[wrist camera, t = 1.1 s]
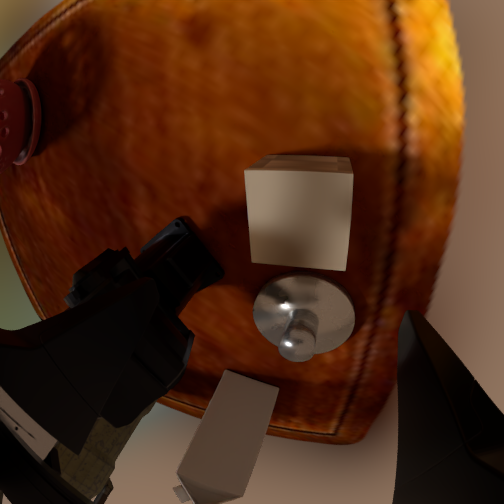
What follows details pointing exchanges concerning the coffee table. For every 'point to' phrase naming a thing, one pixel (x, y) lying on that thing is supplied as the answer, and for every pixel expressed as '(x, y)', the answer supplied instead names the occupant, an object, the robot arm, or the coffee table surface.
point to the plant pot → (18, 121)
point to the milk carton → (226, 441)
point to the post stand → (304, 314)
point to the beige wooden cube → (300, 210)
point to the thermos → (96, 458)
